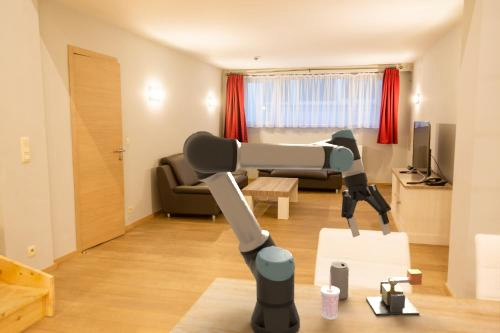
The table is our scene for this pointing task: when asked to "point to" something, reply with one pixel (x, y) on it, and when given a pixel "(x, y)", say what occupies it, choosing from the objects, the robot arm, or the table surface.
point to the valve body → (391, 302)
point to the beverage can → (340, 278)
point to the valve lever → (408, 278)
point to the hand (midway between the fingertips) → (371, 235)
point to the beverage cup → (330, 301)
